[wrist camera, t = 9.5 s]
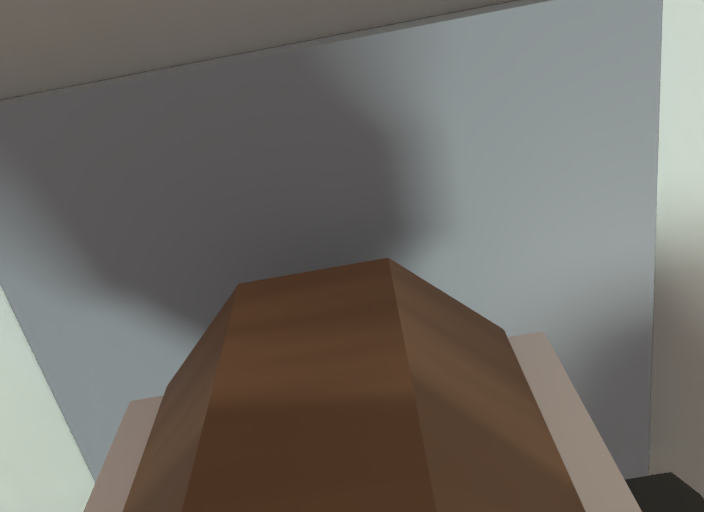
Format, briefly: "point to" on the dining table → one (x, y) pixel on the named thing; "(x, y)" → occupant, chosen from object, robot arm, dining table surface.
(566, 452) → the robot arm
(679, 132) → the dining table surface
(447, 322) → the collar
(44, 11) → the dining table surface
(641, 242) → the post block
